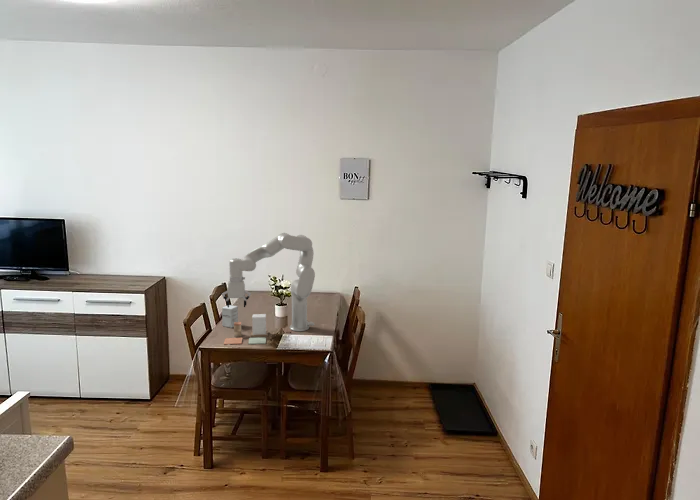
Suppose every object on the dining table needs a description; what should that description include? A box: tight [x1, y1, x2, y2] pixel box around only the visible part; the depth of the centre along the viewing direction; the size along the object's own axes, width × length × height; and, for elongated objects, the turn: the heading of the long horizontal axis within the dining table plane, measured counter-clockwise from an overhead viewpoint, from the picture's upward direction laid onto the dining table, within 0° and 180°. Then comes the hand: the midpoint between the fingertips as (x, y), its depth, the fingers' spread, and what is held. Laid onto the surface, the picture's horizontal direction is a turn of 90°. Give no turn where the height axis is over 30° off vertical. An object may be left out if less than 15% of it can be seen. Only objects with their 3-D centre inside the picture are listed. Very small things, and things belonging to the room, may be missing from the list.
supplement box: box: [221, 304, 239, 329], centre depth 323 cm, size 7×7×13 cm
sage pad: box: [248, 337, 267, 345], centre depth 298 cm, size 10×9×1 cm
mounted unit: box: [250, 313, 269, 338], centre depth 308 cm, size 10×8×12 cm
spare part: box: [233, 321, 242, 338], centre depth 306 cm, size 4×4×8 cm
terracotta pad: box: [223, 337, 243, 346], centre depth 297 cm, size 10×9×1 cm
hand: (236, 306), depth 303 cm, fingers open, 9 cm apart
